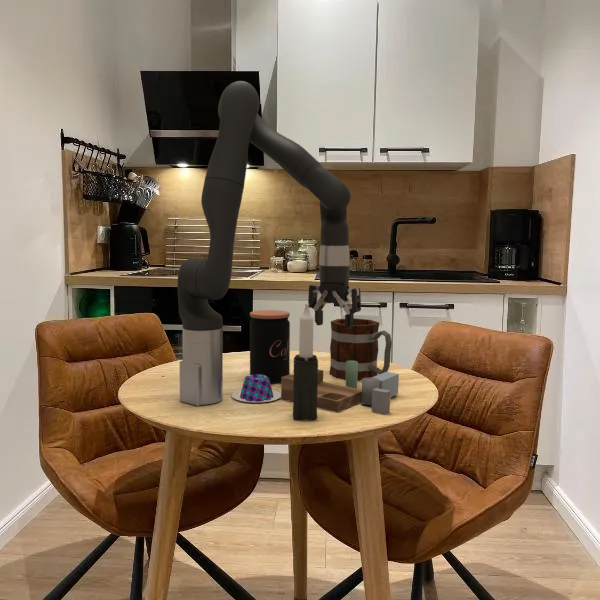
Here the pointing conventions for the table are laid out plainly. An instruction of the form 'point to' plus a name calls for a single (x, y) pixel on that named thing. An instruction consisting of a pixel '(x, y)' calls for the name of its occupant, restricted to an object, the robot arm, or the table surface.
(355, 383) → the dowel leg
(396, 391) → the hinged leg
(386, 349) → the mug
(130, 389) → the table surface
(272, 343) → the coffee jar
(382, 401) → the block
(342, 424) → the table surface
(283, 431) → the table surface
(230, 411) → the table surface
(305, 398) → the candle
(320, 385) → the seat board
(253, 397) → the pudding
